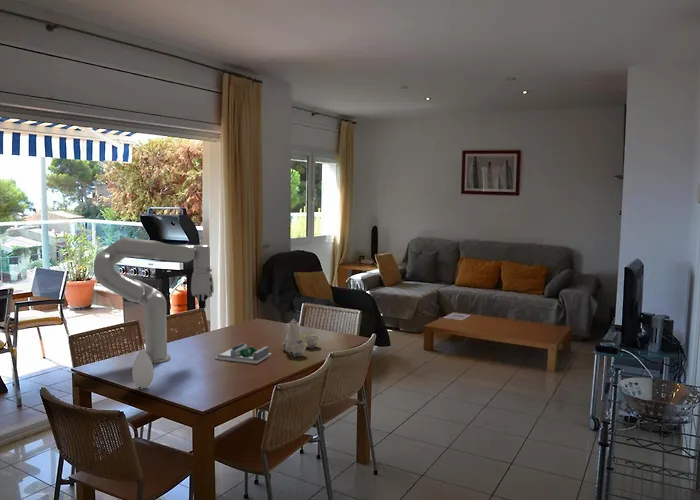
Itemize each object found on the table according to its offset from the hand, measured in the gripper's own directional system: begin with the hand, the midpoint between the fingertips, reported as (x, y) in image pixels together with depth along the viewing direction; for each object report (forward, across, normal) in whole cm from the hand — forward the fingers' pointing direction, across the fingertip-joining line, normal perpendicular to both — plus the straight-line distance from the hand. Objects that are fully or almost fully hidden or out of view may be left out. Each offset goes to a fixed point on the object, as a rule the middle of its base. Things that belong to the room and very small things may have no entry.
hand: (202, 308), depth 270 cm
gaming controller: (+22, -24, -3) cm, 33 cm away
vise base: (+23, -20, -4) cm, 31 cm away
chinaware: (+23, -40, -24) cm, 52 cm away
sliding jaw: (+22, -18, -4) cm, 28 cm away
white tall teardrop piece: (+23, -4, +49) cm, 54 cm away
